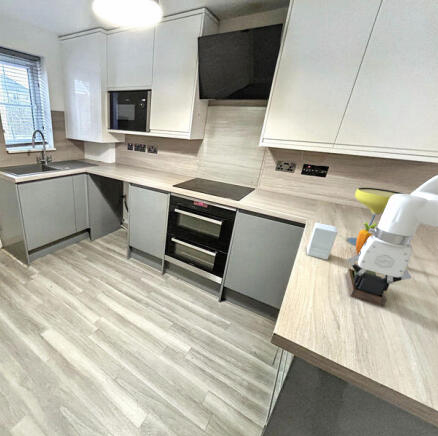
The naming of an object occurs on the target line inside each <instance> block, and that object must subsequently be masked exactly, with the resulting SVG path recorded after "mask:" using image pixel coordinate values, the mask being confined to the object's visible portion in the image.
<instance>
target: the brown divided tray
mask: <svg viewBox="0 0 438 436" xmlns="http://www.w3.org/2000/svg"><path fill="white" fill-rule="evenodd" d="M354 272H355V270H354V269H352V268H347V272H346V280H347V286H348V291H349V296H350V297H352V298H355V299H358V300H361V301H364V302H367V303H371V304H374V305H377V306H380V307H384V305H385V304H386V302H387V297H386V295H385V293H384V292H385V291H384V292H383V294H380V296H379V295H376V294H373V293H369V292H366V291H363V290H359V288H358V287H357V286H356V284H355V282H354V278H353V274H354Z"/></svg>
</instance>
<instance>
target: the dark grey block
mask: <svg viewBox="0 0 438 436" xmlns="http://www.w3.org/2000/svg"><path fill="white" fill-rule="evenodd" d="M382 279H383V277H382V276H378V275H377V276H375V275H372V274H368V273H364V274H363V279H362V281H361V283H360V285H359V287H358V288H359V290H363V291H366V292H369V293H373V294H376V295H379V296H380V294H381V292H382V290H383V288H384V286H385V284H384V282H383V280H382Z"/></svg>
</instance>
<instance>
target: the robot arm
mask: <svg viewBox="0 0 438 436" xmlns="http://www.w3.org/2000/svg"><path fill="white" fill-rule="evenodd" d="M420 225H425V226H430V227H435V228H438V174H437V175H435V176H433V177H432V178H430V179H428V180H427V181H425V182H424V183H423V184H421V185H420V186H418V188H416V189H415V190H414V191H412V192H411V193H409V194H408V193H404V194H394V195H393V196H391V197H390V199H389V201H388V203H387V206H386V208H385V210H384V212H382V215H381V217H380V219H379V221H378V223H377V225H376V226H375V228H374V229H371V228H370V229H369V233H372V234H373V235H371V236H370V237H369V238H368V240H367V241H366V242H365V244H364V246H363V247H362V249H361V251H360V253H359V254H355V255H354V256H351V257H349V258H348V259H347V260H346V262H347V263H348V264H349V265H350V267H352V268H353V269H352V270H355V271H356V272H357V273H356V276H355V278H354V282H355V284H356V286H357V287H359V285H360V283H361V281H362V279H363V274H364V273H365V272H366V271H367V270H369V271H373V272H375V273H376V274H381V275H384V277H382V280H383V282H384V284H385V286H384V288H383V290H382V292H381V294H383V292H387V290H388V289H389V286H390V285H392V284H393V283H396V282H400V281H403V280H404V281H405V280H409V279H412V276H411V274H410V272H409V271H408V269H407V268H408V265H409V262H410V260H411V256H412V252H413V245H411V241H412V240H413V237H414V235H415V234H416V232H417V230H418V227H419V226H420Z"/></svg>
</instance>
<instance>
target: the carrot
mask: <svg viewBox="0 0 438 436" xmlns="http://www.w3.org/2000/svg"><path fill="white" fill-rule="evenodd" d="M363 225H364V229H361V230H359V232H358V235H357V241H356V245H355V251H356V255H358V254H359V253H360V251H361V249H362V247H363V246H364V244H365V242H366V241H367V240H368V238H369V237H370V236H371V235H373V234H372V233H369V229H370V228H371V229H375V228H376V227H377V226H378V223H376V222H374V223H373V224H371V226H369V223H368V222H363Z"/></svg>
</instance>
